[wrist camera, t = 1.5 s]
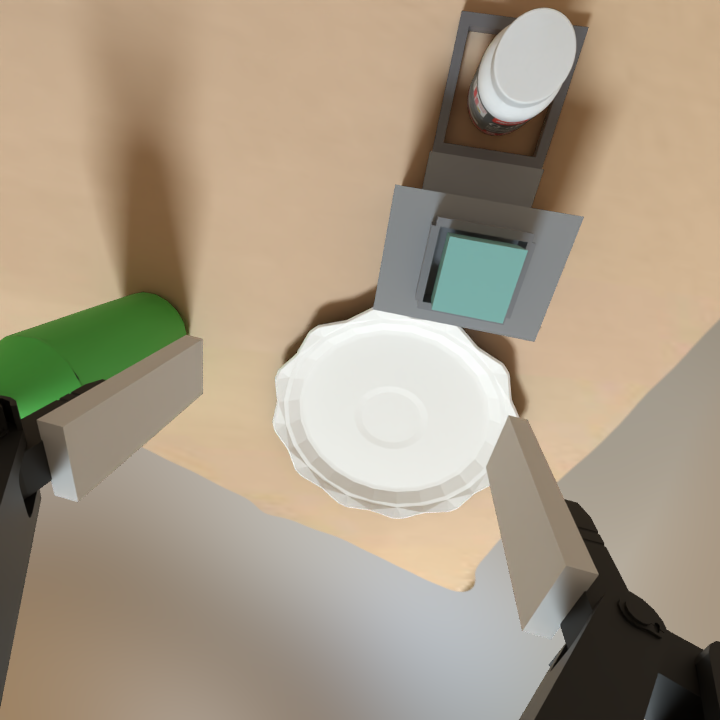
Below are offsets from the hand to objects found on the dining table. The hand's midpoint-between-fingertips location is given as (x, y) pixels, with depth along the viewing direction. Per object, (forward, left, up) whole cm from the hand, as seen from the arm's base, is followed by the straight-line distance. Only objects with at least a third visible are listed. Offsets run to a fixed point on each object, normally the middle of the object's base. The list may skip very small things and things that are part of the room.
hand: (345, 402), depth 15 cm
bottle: (+11, -28, -26) cm, 40 cm away
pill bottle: (-17, +6, -26) cm, 31 cm away
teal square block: (-4, +6, -15) cm, 17 cm away
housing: (-10, +6, -26) cm, 28 cm away
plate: (+17, +3, -26) cm, 32 cm away
